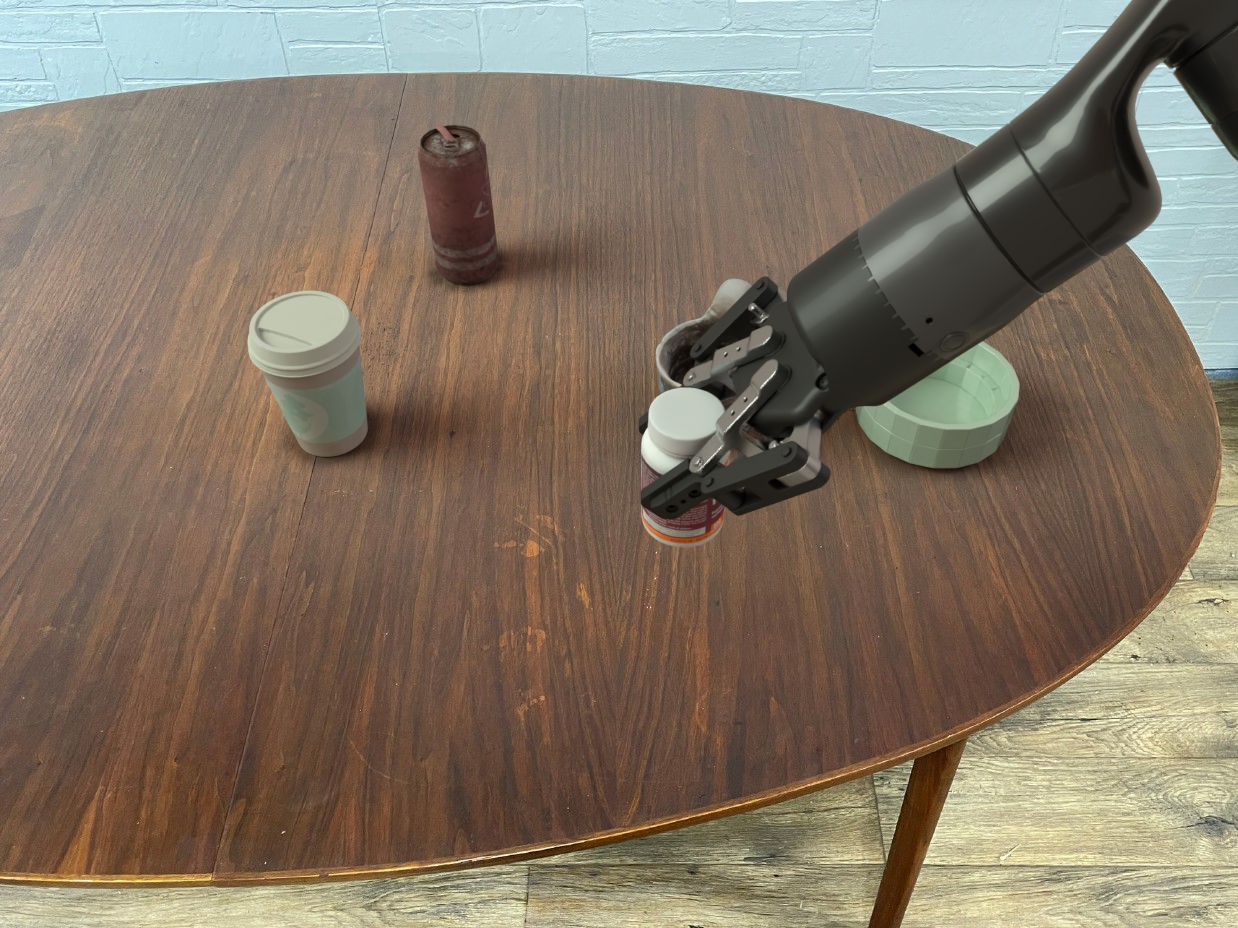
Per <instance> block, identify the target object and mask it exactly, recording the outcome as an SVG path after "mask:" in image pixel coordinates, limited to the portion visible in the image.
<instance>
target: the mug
mask: <svg viewBox="0 0 1238 928" xmlns="http://www.w3.org/2000/svg"><path fill="white" fill-rule="evenodd" d="M752 285H753V284H752ZM752 285H751V283H749V282H748V281H746V280H743V279H741V278H729V279H726V280H725V281H724V282H723V283H722V284H721V285H720V286H719V288H718V290H717V291H716V293H715V295H714V298H713V300H712V302H711V305H710V307H708V309H706V311H705V313H704V314H703V316H701V317H699V318H696V319H691V320H688V321H685V322H682V323H680V324H678V325H676V326H675V327H674V328H672V329H671V330H670V331H668V332H666V334H665V335H664V336H663V337H662V339H661V342H660V343H658V345H657V347H656V349H655V364H656V369H657V373H658V396H659V395H661V394H662V393H664V392H666V391H669V390H672V389H676V388H678V387H680V386H681V385H683V379H684V377H685V375H686V373H687V372H688V371H689V370H690V369H692V368H694V365H695V359H693V358H692V357H691V356H690V351H691V348H692V347H693V345H694V344H695V343H696V342H697V341H698V340H699V339H700V338H701V337H702V336H703V335H704V334H705V333H706V332H707V331H708V330H709V329H710V328H711V327H712V326H713V325H714V324H715V323H716V322H717V321H718V320H719V319H720V318H721V317H722V316H723V315H724V314H725V313H726V312H727V311H728V310H729V309H730V308H731V307H732V306H733V305H734V304H735V303H736V302H737V301H738V300H739V299H740V298H741V297H742V296H743V295H744V294H745V293H746V292H747V290H748V289H749V288H750V287H751V286H752ZM738 341H740V340H738V339H737V338H736V337H735V336H729V337H727V338H726V339H725V340H724V341H723V342H722V343H721V344H720V345H719V346H718V347H717V348H716V349H718V350H719V349H721V348H723V347H726V346H728V345H731V344H733V343H735V342H738ZM732 404H733V403H732ZM732 404H729V405H726V406H724V408H725V411H726V410H727V409H728V408H729V407H730V406H731V405H732ZM741 429H742V430H744V431H745V432H746V433H748V432H749V431H750V430H751V429H753V428H752V427H751V426H749V425H748V424H747V423H745V424H744V425H743V426H742V428H741Z"/></svg>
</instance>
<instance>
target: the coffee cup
mask: <svg viewBox="0 0 1238 928" xmlns="http://www.w3.org/2000/svg"><path fill="white" fill-rule="evenodd" d="M248 329H249V331H248V332H249V333H248V336H247V351H248V356H249V359H250V360H251V363H253V364H254V365H255V367H257V368H258V369H260V371H261V373H262V375H263V378H264V379H265V381H266V383H267V385H268V387H269V389H270V391H271V393H272V395H273V397H274V399H275V400H276V402H277V404H278V406H279V408H280V411H281V412H282V414H283V417H284V418H285V420H286V422H287V424H288V426H289V427H290V430H291V432H292V434H293V435H294V437H295V439H296V440H297V443H298V445H299V446H300V448H301V449H302V451H305V452H306V453H307V454H310V455H312V456H315V457H322V458H331V457H337V456H342V455H343V454H346V453H348V452H350V451H352V450H354V449H356V448H357V447H358V446H359V445H360V444H361V443H363V441H364V439H365V438H366V437H367V434H368V430H369V425H368V417H367V415H368V414H367V404H366V396H365V386H364V385H365V384H364V377H363V375H364V374H363V367H362V357H361V348H360V343H361V341H362V336H363V335H362V327H361V324H360V323H359V321H358V319H357V316H356V314H355V313H353V311H352V310H351V309H350V308H349V307H348V305H347V304H346V303H345V301H344V300H342V298H340V297H339V296H337V295H335V294H332V293H329V292H326V291H320V290H299V291H294V292H289V293H286V294H282V295H280V296H278V297H275V298H273V299H272V300H269V301H268V302H266V303H265V304H264V305H262V306H261V307H260V308H259V309H258V310H257V311H256V312H255V313H254V314H253V316H252V317H251V319H250V322H249V327H248Z"/></svg>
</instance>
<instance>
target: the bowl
mask: <svg viewBox="0 0 1238 928" xmlns="http://www.w3.org/2000/svg"><path fill="white" fill-rule="evenodd" d="M1020 385H1021V383H1020V380H1019V378H1018V375H1017V373H1016V370H1015V368H1014V366H1013V365H1012V364H1011V362H1009V360H1008V359H1007V358H1006V357H1005V356H1004V355H1003V354H1002V353H1001V352H1000V351H998V350H997V349H995V348H994V347H992V346H991V345H989V344H988V343H987V342H985V341H982V342H981V343H979V344H978V345H976V346H974V347H973V348H971V349H970V350H968V351H967V352H965V353H963V354H962V355H960V356H959V357H957V358H956V359H954V360H953V361H951V362H949V363H948V364H946V365H945V366H943V367H942V368H940V369H938V370H937V371H935V372H934V373H932V374H930V375H929V376H927V377H926V378H924V379H923V380H921V381H919V382H918V383H916V384H915V385H913V386H912V387H910V388H908V389H907V390H905V391H904V392H902V393H900V394H899V395H897V396H896V397H894V398H893V399H891V400H889V401H888V402H886V403H885V404H883V405H880V406H861V407H854V409H855V412H856V417H857V422H858V424H859V426H860V428H861V429H862V430H863V432H864V434H865V435H866V436H867V437H868V439H869V440H870V441H871V442H872V443H874V444H875V445H876V446H878V447H879V448H880V449H881V450H882V451H883V452H885V453H887V454H889V455H891V456H893V457H895V458H897V459H899V460H901V461H904V462H906V463H907V464H912V465H916V466H921V467H926V468H931V469H959V468H962V467H966V466H970V465H974V464H978V463H980V462H982V461H983V460H985V459H987V458H988V457H990V456H991V455H992V454H994V453H995V452H996V451H997V450H998V448H999V447H1000V446H1001V443H1003V441H1004V439H1005V437H1006V435H1007V432H1008V429H1009V426H1010V424H1011V422H1012V418H1013V415H1014V413H1015V409H1016V407H1017V404H1018V401H1019V397H1020V387H1021V386H1020Z"/></svg>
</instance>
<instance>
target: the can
mask: <svg viewBox="0 0 1238 928" xmlns="http://www.w3.org/2000/svg"><path fill="white" fill-rule="evenodd" d="M417 158H418V165H419V170H420V171H419V172H420V176H421V182H422V183H421V184H422V188H423V195H424V200H425V207H426V212H427V219H428V224H429V230H430V236H431V241H432V248H433V253H434V260H435V265H436V269H437V271H438V273H439V275H440V276H442V278H444V279H445V280H447V282H450V283H452V284H455V285H461V286H462V285H463V286H468V285H477V284H481V283H483V282H485V281H486V280H488V279H490V278H491V277H492V276H493V275H494V274H495V272H496V271H497V269H498V267H499V265H500V258H499V249H498V241H497V231H496V224H495V215H494V214H495V213H494V206H493V197H492V187H491V179H490V170H489V161H488V154H487V144H486V143H485V142H484V139H483V138H482V136H481V134H480V132H479V131H477V130H476V129H474V128H472V127H470V126H468V125H467V126H466V125H460V124H451V125H450V124H446V125H442V124H440V125H437V126H435V127H434V128H433V129H430V130H428V131H427V132H425V133H424V134H423V135H422V137H420V140H419V145H418V147H417Z"/></svg>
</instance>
